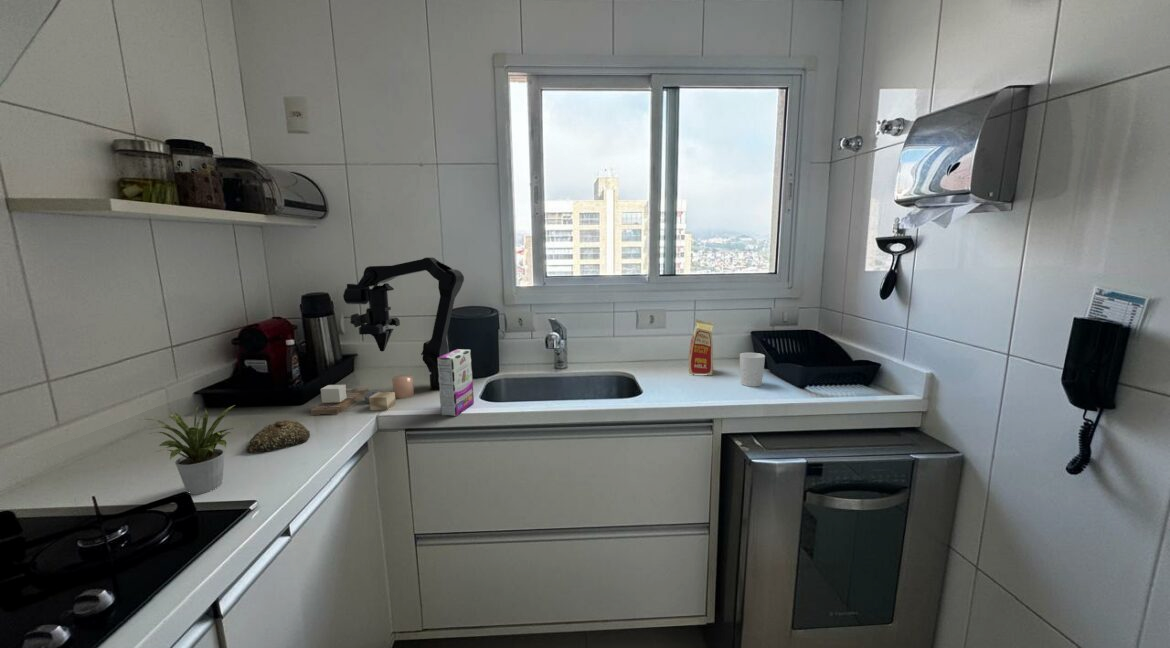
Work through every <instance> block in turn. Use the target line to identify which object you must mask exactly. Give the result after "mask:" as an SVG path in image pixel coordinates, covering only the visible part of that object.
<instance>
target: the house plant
mask: <svg viewBox="0 0 1170 648" xmlns="http://www.w3.org/2000/svg"><path fill="white" fill-rule="evenodd" d="M200 405H201V403H199V404H198V406H197V407H196V409H195V413H194V422H193V424H194V425H193V426H191V427H189V426H188V425H187V424H186V422H185V421H184V420H183V418H182V417H181V415H180V414H178V413H176V412H172V411H170V413H171V414H168V413H167V415H168V416H169V417H170V418H171V419H172V420H173V421H175V423H176V424H177V426H179V427H180V428H181V430H182V431H183V432H184V433H182V432H181V431H180V430H178V429H176V428H174V427H171V426H170V425H168V424H167V423H166V422H164V421H161V420H158V419H153V418H144V419H143V418H141V419H137V420H138V421H139V420H140V421H141V420H145V421H146V420H147V421H154V422H157V423H159V424H162V425H164V426H161V429H162V428H164V429H167V430H169V431H171V432H173V433H174V434H175V435H176V436H178V437H179V438H180V439H182V441H183V442H185V444H186V445H184V444H182V442H180V441H179V440H178V439H176V437H174V436H173V435H172V434H169V433H167V432H163V431H154V432H153V434H156V433H158V434H164V435H165V436H167V437H169V438H170V439H172V440H169V439H168V440H165V441H163V442H161V443H160V444H159V445H158V447H164V446H165V449H166V448H167V449H168V448H175V449H173V450H172V449H168V451H170V458H169V461H171V460H172V458H174V457H175V456H177V455H180V457H179V458H178V459H176V460H175V464H174V465H175V466H176V469H177V471H178V474H179V475H180V478H181V482H182V484H183V486H184V488H185V491H186V492H190V493H191V494H195V495H201V493H202V494H206V493H209V492H211V491H210V490H212V491H214V490H216V489H218V488H219V487H218V486H220V485H221V484H223V479H224V478H223V477H224V464H225V463H224V462H225V450H224V449H221V448H216V447H217V445H221V446H223V447H224V448H225V449H227V441H226V440H225V439H223V438H224V437H225V436H227V435H228V434H231V433H232V431H229V430H232V429H234V427H232V428H231V427H230V428H225V429H222V430H219V431H215V429H216V428H217V426H218V425H219V424H220V423H221V421H222V420H223V419H224V418H225V417H227V413H228V412H229V411H230V410H231V409H232V408H234V407H235V406H236V404H234V405H232V406H229V407H227V409H225V410H224V411H222V412H221V413H220V414H219V415H218V417H217V418H216V419H215V420H214V421H213V423H212V425H211V426H210V427H209V428H208V430H207V426H208V420H209V413H208V410H207V409H206V408H204V414H203V415H201V417H199V419H198V421H197V413H198V410H199V406H200ZM172 414H173V415H172ZM201 418H202V423H201V427H200V428H199V425H200V422H201ZM158 428H160V426H158V427H157V426H156V427H152V428H151V430H153V429H158ZM147 430H149V431H150V428H149V429H147ZM214 431H215V432H214ZM226 431H227V432H226ZM224 432H225V433H224ZM222 433H223V434H222ZM150 434H152V432H150V433H149V435H150ZM166 446H167V447H166ZM162 451H163V449H160V450H157V451H156V452H162ZM182 452H183V453H182ZM221 486H222V485H221ZM221 486H220V487H221ZM217 487H218V488H217ZM215 488H216V489H215ZM213 489H214V490H213ZM208 491H209V492H208ZM205 492H206V493H205ZM191 494H190V495H191Z"/></svg>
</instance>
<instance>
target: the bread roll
mask: <svg viewBox="0 0 1170 648" xmlns="http://www.w3.org/2000/svg"><path fill="white" fill-rule="evenodd" d="M310 436H311V434H310V430H308V428H307V427H306V426H305V425H304V424H302V423H300V422H298V421H296V420H295V421H293V420H289V419H288V420H286V419H285V420H280V421H279V420H278V421H276V422H274V423H273V424H268V426H264V427H263V428H262V429H261V430H259V431H258V432H256V433H255V434H253V437H251V438H250V440H249V444H248V445H247V446H246V449H245V452H247V453H249V454H257V453H260V454H261V453H266V452H270V451H275V450H280V449H287V448H289V447H294V446H297V445H298V444H299V445H302V444H304V443H306V442H307V441H309V439H310ZM299 445H298V446H299ZM286 447H287V448H286Z"/></svg>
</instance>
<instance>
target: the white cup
mask: <svg viewBox="0 0 1170 648" xmlns="http://www.w3.org/2000/svg"><path fill="white" fill-rule="evenodd" d="M765 359H766V355H765V354H763V353H758V352H751V351H750V352H747V351H746V352H742V353H739V377H740V381H739V382H740V384H741V385H742V386H745V387H752V388H753V387H754V388H758V387H761V386H762V384H763V383H762V382H763V377H764V369H765V361H766V360H765ZM757 386H758V387H757Z"/></svg>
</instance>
